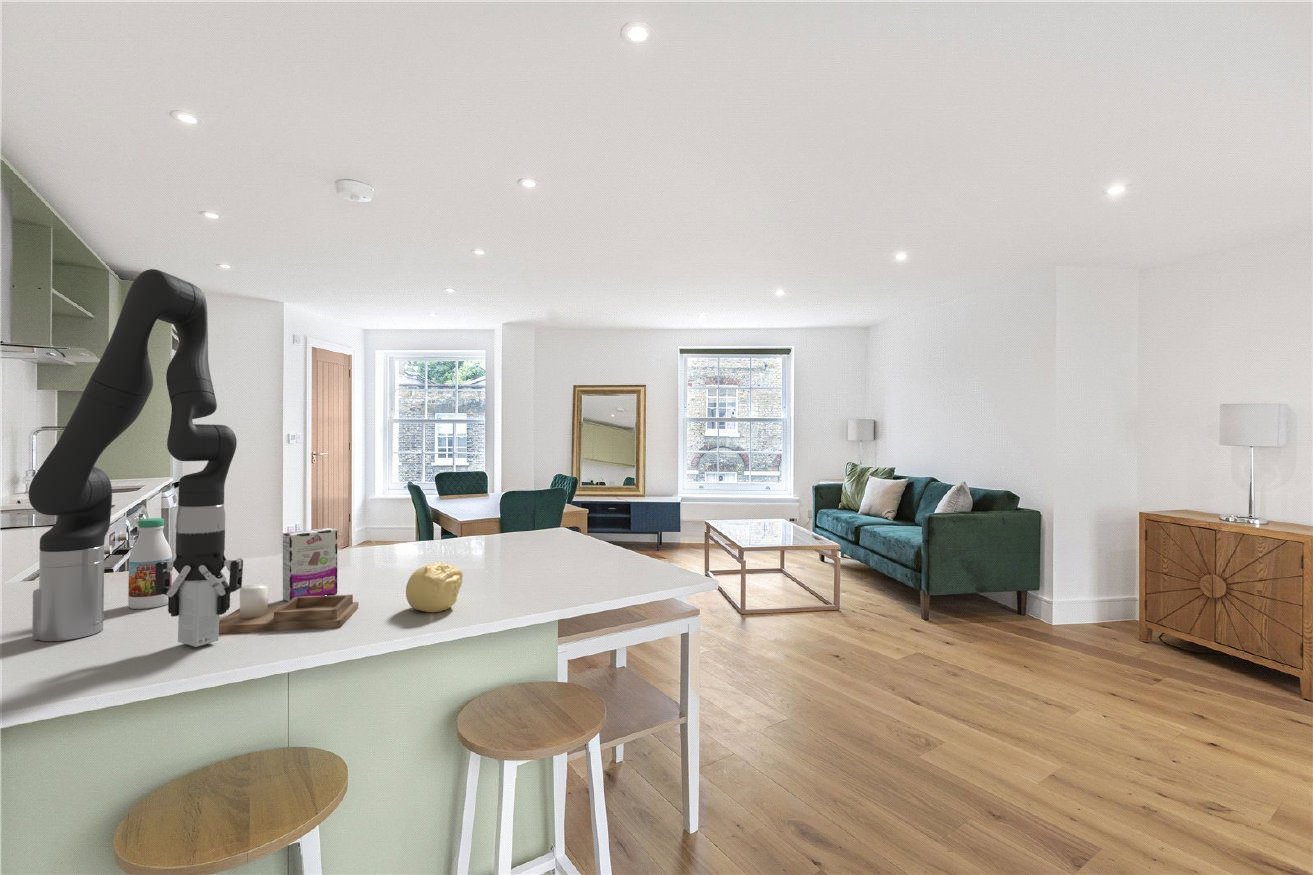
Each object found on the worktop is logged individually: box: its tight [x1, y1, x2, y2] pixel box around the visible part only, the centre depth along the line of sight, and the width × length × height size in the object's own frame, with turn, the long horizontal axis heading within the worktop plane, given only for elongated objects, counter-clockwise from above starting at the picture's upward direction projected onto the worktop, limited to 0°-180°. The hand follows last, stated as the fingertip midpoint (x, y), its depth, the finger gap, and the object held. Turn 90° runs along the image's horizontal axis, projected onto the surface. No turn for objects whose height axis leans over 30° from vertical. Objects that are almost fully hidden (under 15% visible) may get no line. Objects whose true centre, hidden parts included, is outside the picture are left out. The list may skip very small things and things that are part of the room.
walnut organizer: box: [219, 583, 359, 634], centre depth 130 cm, size 24×14×8 cm, turn 103°
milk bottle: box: [127, 517, 173, 610], centre depth 139 cm, size 8×8×20 cm
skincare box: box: [177, 580, 220, 648], centre depth 115 cm, size 6×4×12 cm
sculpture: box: [405, 561, 464, 613], centre depth 140 cm, size 12×12×11 cm
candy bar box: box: [282, 527, 338, 603], centre depth 148 cm, size 11×5×16 cm, turn 143°
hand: (199, 614), depth 115 cm, fingers closed on skincare box, 7 cm apart
